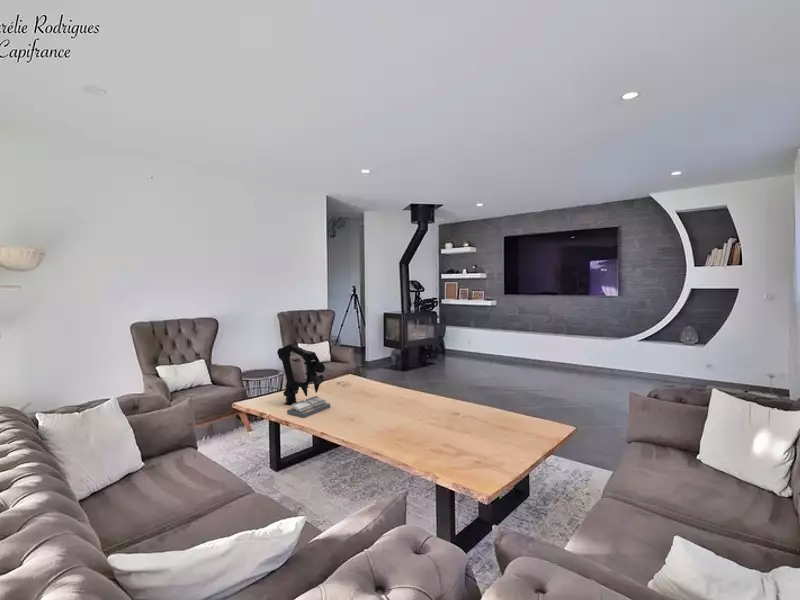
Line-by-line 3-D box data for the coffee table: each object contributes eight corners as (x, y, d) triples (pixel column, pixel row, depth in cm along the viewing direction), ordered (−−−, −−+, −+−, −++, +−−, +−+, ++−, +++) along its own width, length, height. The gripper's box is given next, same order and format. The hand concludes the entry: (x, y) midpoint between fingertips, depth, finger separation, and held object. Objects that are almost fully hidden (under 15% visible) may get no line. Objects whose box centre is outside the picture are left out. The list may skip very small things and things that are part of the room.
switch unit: (287, 414, 258) (286, 408, 258) (314, 404, 278) (313, 399, 278) (304, 418, 250) (303, 412, 250) (330, 407, 270) (330, 402, 270)
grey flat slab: (291, 406, 257) (291, 404, 257) (302, 402, 265) (303, 400, 265) (301, 412, 252) (301, 409, 252) (312, 408, 261) (313, 405, 260)
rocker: (305, 401, 267) (305, 399, 267) (315, 398, 275) (316, 395, 275) (314, 406, 262) (315, 404, 262) (325, 402, 271) (325, 400, 271)
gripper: (309, 375, 257) (309, 399, 258) (329, 369, 273) (329, 392, 274) (296, 373, 263) (297, 397, 264) (317, 368, 279) (317, 390, 280)
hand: (311, 394), depth 270 cm, fingers open, 9 cm apart
